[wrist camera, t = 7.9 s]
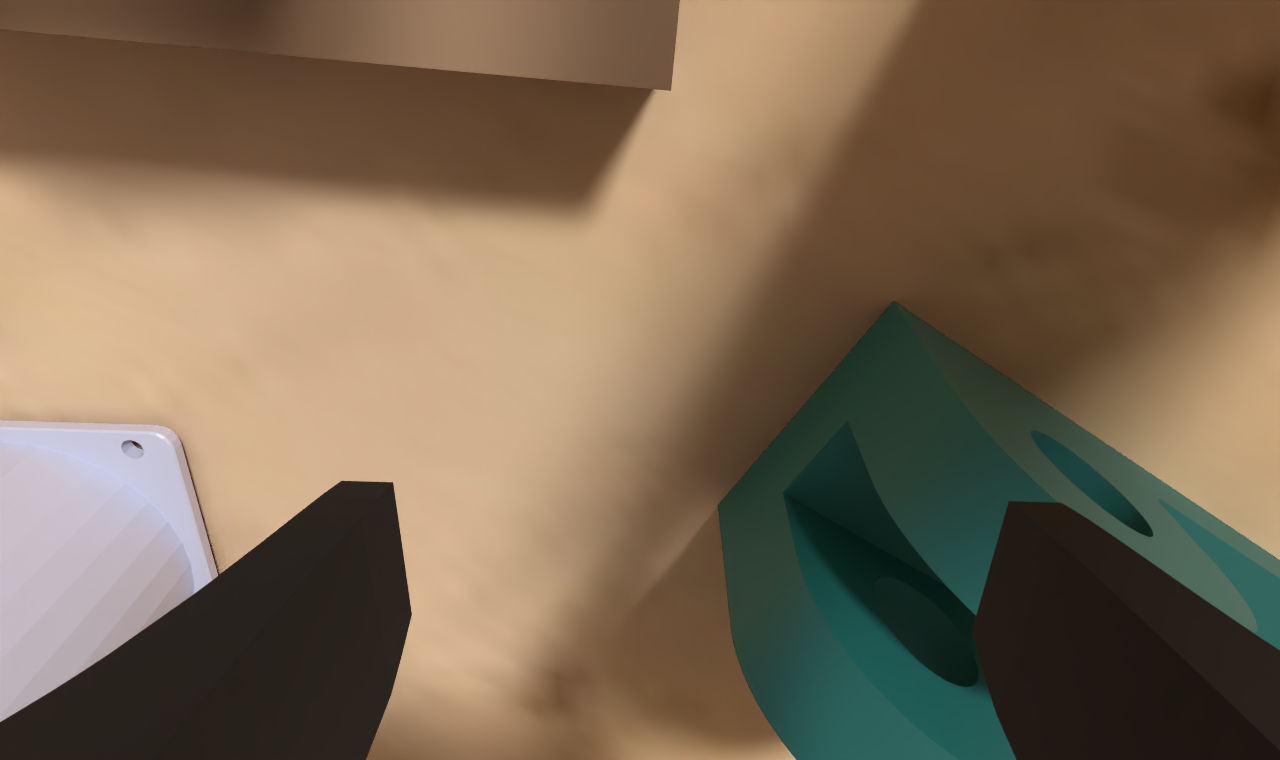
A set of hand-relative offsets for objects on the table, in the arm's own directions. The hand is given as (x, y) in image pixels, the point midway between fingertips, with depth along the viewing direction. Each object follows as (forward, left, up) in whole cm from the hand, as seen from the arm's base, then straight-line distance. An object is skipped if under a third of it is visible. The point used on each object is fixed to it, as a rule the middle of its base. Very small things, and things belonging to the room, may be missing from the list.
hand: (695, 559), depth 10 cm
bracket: (+11, -8, -10) cm, 17 cm away
